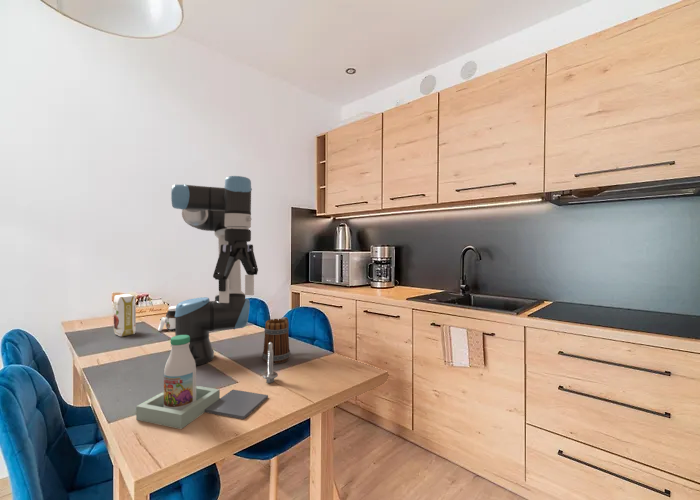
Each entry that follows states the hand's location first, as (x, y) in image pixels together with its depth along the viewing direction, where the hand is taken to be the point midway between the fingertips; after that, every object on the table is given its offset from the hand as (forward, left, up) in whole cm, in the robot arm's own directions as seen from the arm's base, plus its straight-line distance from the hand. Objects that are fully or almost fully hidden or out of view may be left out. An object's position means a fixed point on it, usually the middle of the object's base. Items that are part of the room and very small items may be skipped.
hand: (237, 298), depth 96 cm
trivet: (+5, -7, -28) cm, 30 cm away
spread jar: (-73, +48, -29) cm, 92 cm away
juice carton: (-88, +35, -29) cm, 99 cm away
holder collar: (-8, -14, -28) cm, 33 cm away
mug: (-2, +30, -29) cm, 42 cm away
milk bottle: (-8, -14, -29) cm, 33 cm away
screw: (+6, +9, -29) cm, 31 cm away
